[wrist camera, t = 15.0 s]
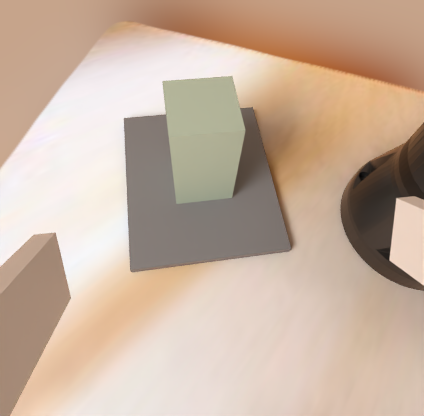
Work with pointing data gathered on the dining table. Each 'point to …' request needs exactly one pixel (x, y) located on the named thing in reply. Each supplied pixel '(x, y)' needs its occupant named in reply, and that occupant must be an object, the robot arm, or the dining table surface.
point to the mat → (197, 204)
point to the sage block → (203, 137)
